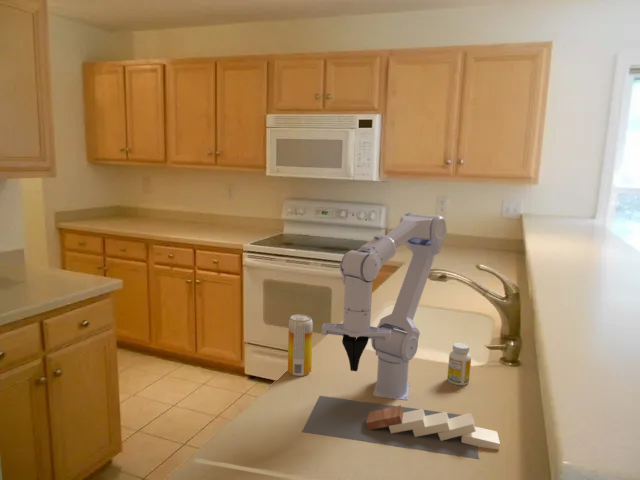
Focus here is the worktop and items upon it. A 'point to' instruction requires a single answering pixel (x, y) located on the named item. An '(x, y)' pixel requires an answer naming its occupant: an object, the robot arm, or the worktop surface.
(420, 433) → the ivory domino
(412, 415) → the ivory domino
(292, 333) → the beer can
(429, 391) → the worktop surface
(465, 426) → the ivory domino
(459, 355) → the supplement bottle
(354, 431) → the charcoal mat
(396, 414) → the terracotta domino
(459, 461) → the worktop surface
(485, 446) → the ivory domino
